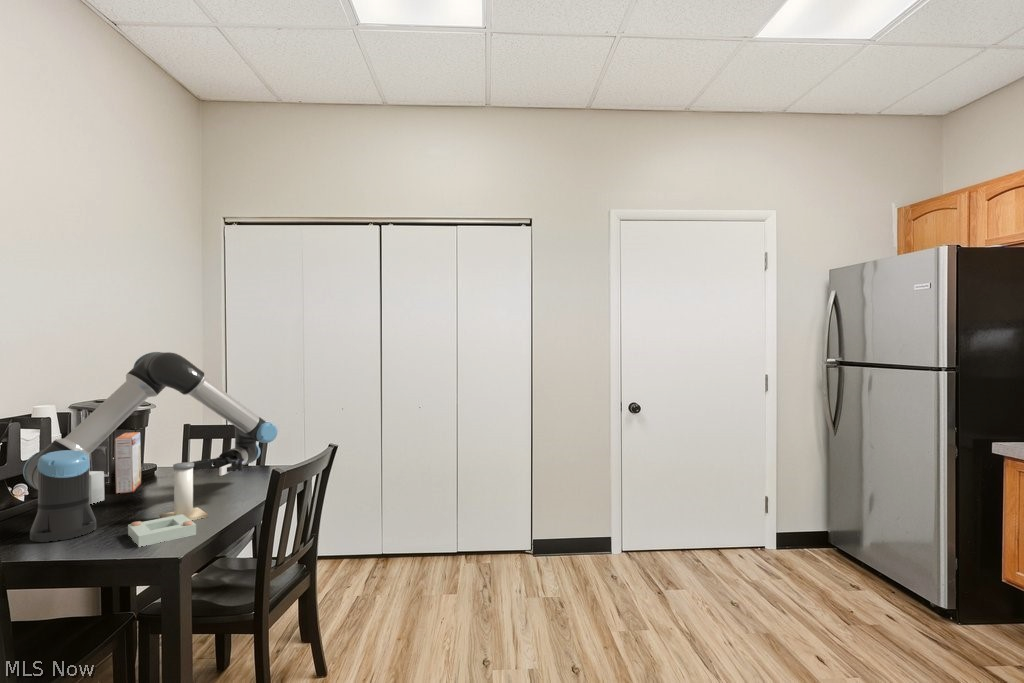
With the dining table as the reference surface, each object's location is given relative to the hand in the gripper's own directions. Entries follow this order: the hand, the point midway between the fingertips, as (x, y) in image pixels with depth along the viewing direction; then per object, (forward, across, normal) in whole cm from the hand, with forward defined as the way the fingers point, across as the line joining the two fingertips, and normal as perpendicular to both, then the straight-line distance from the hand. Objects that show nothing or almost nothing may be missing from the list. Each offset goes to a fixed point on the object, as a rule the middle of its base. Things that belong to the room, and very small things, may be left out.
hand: (200, 471), depth 187 cm
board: (+10, 0, -12) cm, 16 cm away
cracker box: (-26, +43, -13) cm, 52 cm away
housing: (+26, -4, -12) cm, 29 cm away
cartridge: (+10, 0, -11) cm, 15 cm away
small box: (-8, +44, -13) cm, 47 cm away
